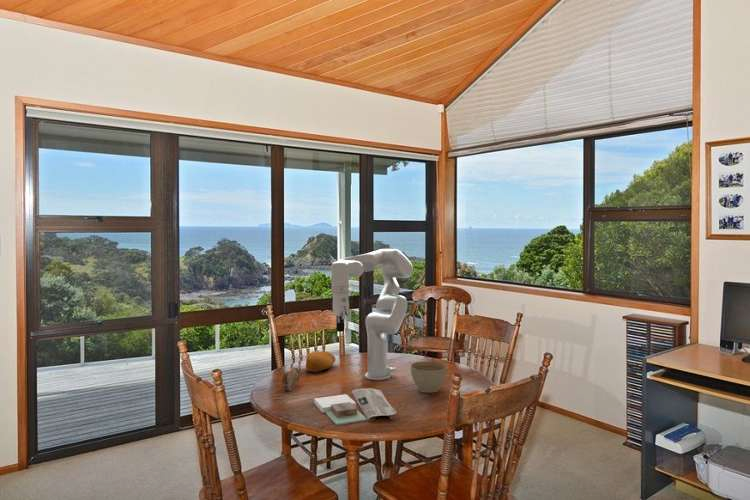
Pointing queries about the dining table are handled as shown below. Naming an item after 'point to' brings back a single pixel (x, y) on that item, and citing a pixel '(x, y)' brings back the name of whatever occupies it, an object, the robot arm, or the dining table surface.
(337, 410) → the walnut tile
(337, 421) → the mat
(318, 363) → the bread
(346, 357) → the dining table surface
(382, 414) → the newspaper
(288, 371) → the tin
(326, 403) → the white flat block
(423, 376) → the planter bowl
